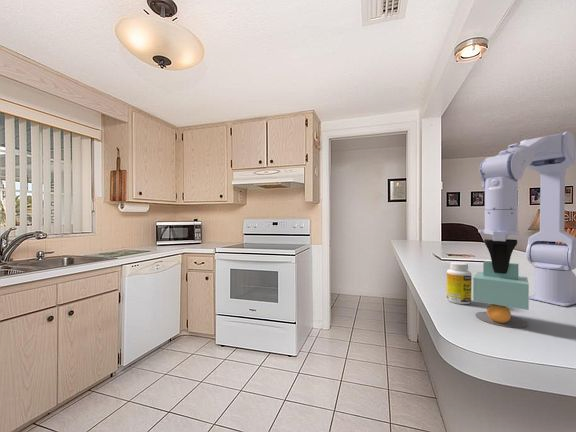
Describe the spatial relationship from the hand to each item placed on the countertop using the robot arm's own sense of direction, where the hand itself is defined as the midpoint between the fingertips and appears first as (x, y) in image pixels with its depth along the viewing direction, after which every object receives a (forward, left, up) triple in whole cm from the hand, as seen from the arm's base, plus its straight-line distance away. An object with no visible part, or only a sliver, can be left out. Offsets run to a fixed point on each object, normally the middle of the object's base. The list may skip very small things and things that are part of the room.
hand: (500, 272), depth 60 cm
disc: (0, 0, -10) cm, 10 cm away
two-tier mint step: (0, 0, -6) cm, 6 cm away
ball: (+2, +1, -8) cm, 9 cm away
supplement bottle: (-4, -12, -10) cm, 16 cm away
